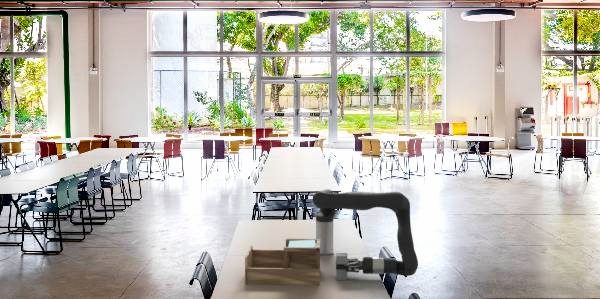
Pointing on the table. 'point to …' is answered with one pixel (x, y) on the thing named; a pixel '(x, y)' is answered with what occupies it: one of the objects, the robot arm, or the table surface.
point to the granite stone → (341, 259)
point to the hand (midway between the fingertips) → (336, 264)
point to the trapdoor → (302, 243)
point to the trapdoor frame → (283, 265)
